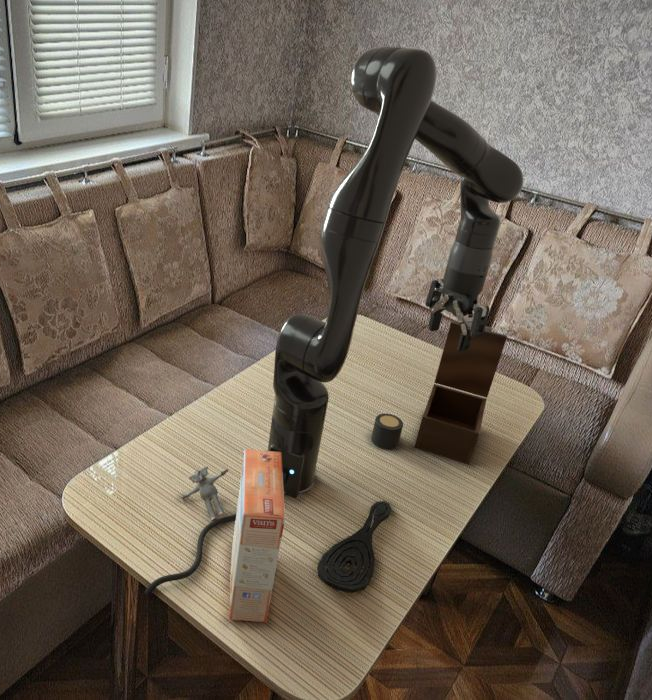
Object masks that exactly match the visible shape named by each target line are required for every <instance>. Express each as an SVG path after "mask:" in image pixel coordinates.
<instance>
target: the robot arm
mask: <svg viewBox="0 0 652 700" xmlns="http://www.w3.org/2000/svg"><path fill="white" fill-rule="evenodd" d="M350 77H351V78H350V82H351V83H350V84H351V85H350V86H351V91H352V94H353V97H354V98H355V100H356V102H358V104H359V105H360V106H362V108H365V109H366V110H368V111H370V112H372V113H373V114H376V115H377V116H378V119H377V122H376V125H375V128H374V131H373V134H372V137H371V139H370V142H369V144H368V145H367V147H366V149H365V151H364V153H363V154H362V155H361V157H360V158H359V159H358V160H357V162H356V163H355V164H354V165H353V166H352V167H351V169H349V171H348V172H347V173H346V175H345V176H344V177H343V178H342V180H341V181H340V182H339V183H338V185H337V186H336V187H335V189H334V191H333V192H332V194H331V197H330V198H329V201H328V205H327V208H326V211H325V215H324V218H323V221H322V225H321V228H320V233H319V249H320V255H321V259H322V263H323V268H324V272H325V276H326V280H327V286H328V294H329V295H328V299H329V300H328V308H327V314H326V319H325V321H323V320H321V319H319V318H317V317H314V316H312V315H310V314H306V313H303V312H298V313H295V314H292V315H290V316H289V318H287V320H286V321H285V322H284V323H283V325H282V326H281V329H280V330H279V333H278V337H277V340H276V346H275V354H274V366H273V367H274V368H273V381H272V388H273V392H274V399H273V400H274V401H273V409H272V415H271V422H270V430H269V436H268V437H269V438H268V445H267V451H273V452H281V453H282V471H283V489H284V496H287V497H290V498H292V499H297V498H298V497H299V496H300V495H305V494H306V493H308V492H309V491H310V490H311V489H312V488H313V487H314V484H315V476H316V475H315V474H316V470H317V463H318V459H319V453H320V448H321V442H322V438H323V437H322V436H323V432H324V426H325V422H326V416H327V410H328V405H329V399H330V395H329V391H328V389H327V387H326V385H325V384H327V383H329V382H330V383H331V382H332V381H333V380H334V379H335V378H336V377H338V375H339V374H340V372H341V371H342V369H343V366H344V364H345V362H346V360H347V357H348V354H349V352H350V351H349V350H350V347H351V345H352V339H353V334H354V330H355V327H356V323H357V318H358V314H359V309H360V305H361V300H362V296H363V292H364V289H365V285H366V283H367V279H368V277H369V273H370V270H371V267H372V264H373V261H374V259H375V256H376V253H377V251H378V247H379V244H380V242H381V238H382V235H383V232H384V229H385V226H386V222H387V221H388V216H389V213H390V208H391V206H392V202H393V199H394V196H395V193H396V190H397V188H398V184H399V181H400V179H401V176H402V172H403V170H404V167H405V164H406V161H407V160H408V156H409V154H410V152H411V149H412V146H413V145H414V142H415V140H416V141H417V142H418V143H419V144H421V145H422V146H423V147H424V148H426V149H427V150H428V151H429V152H430V153H431V154H433V155H434V157H436V158H437V159H438V160H439V161H440V162H441V163H442V164H444V165H445V166H446V167H447V168H448V169H449V170H450V171H451V172H452V173H454V174H455V175H457V177H460V191H459V193H460V197H459V198H460V203H459V205H460V207H459V208H460V209H459V210H460V219H459V222H458V226H457V230H456V234H455V238H454V240H453V241H454V242H453V244H452V246H451V247H450V248H451V249H450V251H449V256H448V258H447V259H448V260H447V263H446V267H445V270H444V275H443V278H440V279H432V281H431V283H430V287H429V289H428V293H427V297H426V300H425V304H424V305H425V307H427V308H429V311H430V316H429V321H428V330H429V331H430V332H436V331H439V329H440V326H441V323H442V319H443V315H444V314H443V313H444V312H445V311H447V313H451V314H452V315H453V316H454V317H455V318H456V320H457V323H459V324H460V325H461V329H462V334H461V335H460V339H459V342H458V346H457V350H458V351H460V352H461V351H466V350H467V349H469V347H470V344H471V341H472V337H475V336H480V335H483V334H484V330H485V326H486V327H487V322H488V319H489V318H488V317H489V314H490V309H491V308H490V306H489V305H484V306H483V305H481V304H479V302H478V298H479V296H480V295H481V293H482V292H483V290H484V286H485V283H486V280H487V277H488V273H489V270H490V267H491V262H492V259H493V253H494V248H495V244H496V241H497V238H498V234H499V230H500V226H501V218H500V216H499V215H498V214H497V213H496V212H495V211H494V210H493V209H492V208H491V206H490V202H493V203H497V204H505V203H509V202H512V201H513V200H514V199H516V198H517V197H518V196H519V194H520V193H521V191H522V189H523V187H524V173H523V171H522V169H521V167H520V166H519V164H518V163H516V161H515V160H513V159H511V158H510V157H508V155H506V154H504V153H503V152H502V151H500V150H498V149H497V148H495V147H493V145H491V144H489V142H487V140H486V139H485V138H484V137H483V136H482V135H481V134H480V133H479V132H478V131H477V130H476V129H475V128H474V127H473V126H472V125H471V124H470V123H469V122H467V121H466V120H465V119H463V118H462V117H460V116H459V115H458V114H456V113H454V112H452V111H451V110H450V109H447V108H446V107H444V106H442V105H440V104H438V103H437V102H435V100H434V101H433V100H432V99H433V96H434V91H435V87H436V82H437V67H436V62H435V60H434V57H433V56H432V54H431V53H430V52H428V51H426V50H424V49H422V48H421V49H420V48H413V47H403V46H388V45H383V46H382V45H381V46H376V47H372V48H369V49H367V50H366V51H364V52H362V53H361V55H360V56H359V57H358V58H357V60H356V61H355V63H354V65H353V68H352V72H351V76H350ZM467 315H468V316H467ZM465 316H467V317H466V318H465ZM467 323H468V325H469V328H468V327H467ZM478 326H479V327H478ZM324 383H325V384H324ZM233 521H236V513H234V514H230V515H227V516H224V517H221V518H217V520H215V521H211V522H209V523H208V524H207V525H206V526H205V527H204V528H203V529H202V530H201V531H200V534H199V535H198V538H197V545H196V556H195V559H194V562H193V564H192V565H191V566H190V567H189V568H188V569H187V570H185V571H182V572H178V573H172V574H166V575H162V576H161V577H158V578H156V579H155V580H153V581H152V582H150V584H149V585H148V586H147V588H146V589H145V591H144V594H145V595H151V594H152V593H153V591H154V590H155V589H156V588H157V587H159V586H160V585H162V584H165V583H167V582H174V581H179V580H184V579H186V578H188V577H190V576H192V575H193V574H194V573H195V572H196V571H197V570H198V569H199V566H200V565H201V563H202V559H203V551H204V542H205V538H206V536H207V534H208V533H209V532H210V531H211V530H212V529H213V528H215V527H217V526H220V525H223V524H226V523H229V522H233Z"/></svg>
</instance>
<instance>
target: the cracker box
mask: <svg viewBox="0 0 652 700" xmlns="http://www.w3.org/2000/svg"><path fill="white" fill-rule="evenodd" d="M237 497H238V498H237V506H236V513H235V514H236V520H234V527H233V528H234V529H233V536H232V543H231V555H230V556H231V557H230V577H229V578H230V580H229V581H230V582H229V605H228V606H229V608H228V609H229V611H228V620H230V621H231V620H232V621H243V622H246V621H247V622H255V623H267V621H268V615H269V610H270V605H271V600H272V593H273V587H274V582H275V576H276V572H277V565H278V560H279V559H278V558H279V553H280V549H281V544H282V543H281V542H282V538H283V532H284V526H285V522H286V510H285V507H286V506H285V495H284V489H283V471H282V453H281V452H273V451H268V450H259V449H250V448H249V449H248V448H244V451H243V457H242V465H241V473H240V482H239V490H238V496H237Z"/></svg>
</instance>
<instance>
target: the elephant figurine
mask: <svg viewBox="0 0 652 700" xmlns="http://www.w3.org/2000/svg"><path fill="white" fill-rule="evenodd" d="M208 469H209V466H204V467H203V468H201V469H198V470H196V471H194V473H193V474H191V475H189V477H188V480H190V481H191V482H192V483H193V484H195V483H196V485H195V486H194V487H193V488H192V489H191V490H190V491H189V492H188V493H185V494H183V495H182V496H181V497H180V499H182V500H184V499H187V498H189V497H190V496H191V495H194V494H196V493H198V492H199V496H200V498H201V499H202V501H204V505H205V507H206V509H207V512H208V515H209V518H210V521H211V522H213V521H215V520H217V519H218V517H217V514H218V516H224V515H225V514H226V512H225V510H224V508H223V506H222V505H221V502H220V499H219V496H218V492H219V490H218V489H217V487H216V486H215V484H214V483H215V482H216V481H217V480H218V479H220V478H221V477H223V476H225V475H226V474H227V473H228V472H229V468H226V469H224V470H222V471H220V473H219V474H215V475H212V476H209V477H207V475H208V474H209V473H208ZM212 502H213V504H214V506H213V504H212ZM214 507H215V509H216V512H217V514H216V512H215V509H214Z"/></svg>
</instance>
